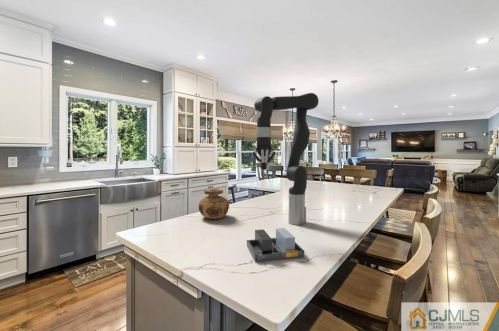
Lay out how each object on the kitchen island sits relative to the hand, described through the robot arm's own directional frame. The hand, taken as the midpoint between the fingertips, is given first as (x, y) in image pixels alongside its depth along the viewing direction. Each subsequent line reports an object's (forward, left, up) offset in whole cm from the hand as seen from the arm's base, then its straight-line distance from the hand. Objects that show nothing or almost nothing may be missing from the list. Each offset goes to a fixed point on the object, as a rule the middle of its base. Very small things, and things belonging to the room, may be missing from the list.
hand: (263, 169), depth 128 cm
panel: (-2, +27, -31) cm, 41 cm away
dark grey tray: (+3, +27, -32) cm, 42 cm away
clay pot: (+24, -30, -32) cm, 50 cm away
